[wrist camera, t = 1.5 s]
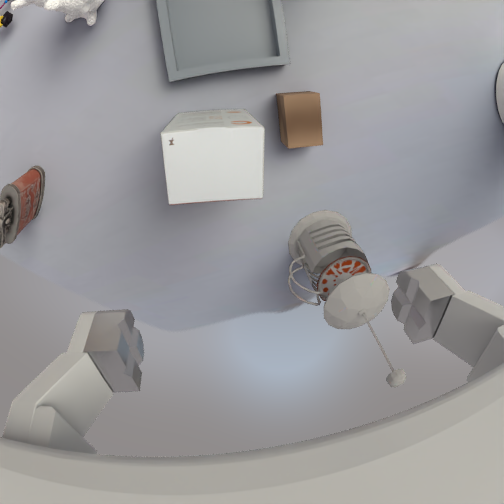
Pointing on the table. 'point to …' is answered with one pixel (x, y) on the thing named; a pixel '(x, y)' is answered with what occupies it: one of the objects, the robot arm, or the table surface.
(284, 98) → the walnut block
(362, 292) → the french press
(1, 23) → the purple plastic toy
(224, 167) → the small box
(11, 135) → the table surface
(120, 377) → the robot arm
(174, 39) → the slate tray
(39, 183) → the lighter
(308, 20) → the table surface
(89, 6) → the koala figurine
